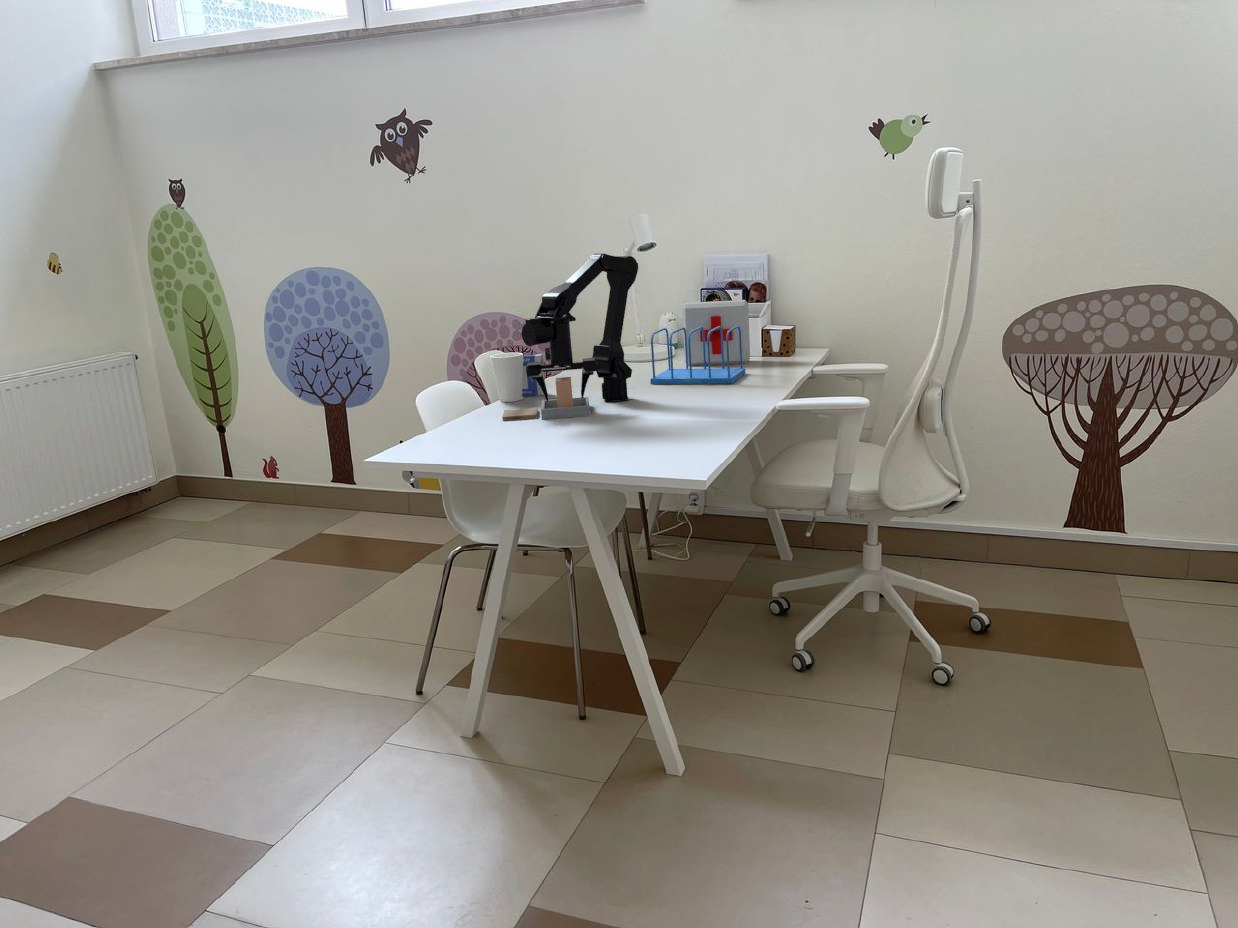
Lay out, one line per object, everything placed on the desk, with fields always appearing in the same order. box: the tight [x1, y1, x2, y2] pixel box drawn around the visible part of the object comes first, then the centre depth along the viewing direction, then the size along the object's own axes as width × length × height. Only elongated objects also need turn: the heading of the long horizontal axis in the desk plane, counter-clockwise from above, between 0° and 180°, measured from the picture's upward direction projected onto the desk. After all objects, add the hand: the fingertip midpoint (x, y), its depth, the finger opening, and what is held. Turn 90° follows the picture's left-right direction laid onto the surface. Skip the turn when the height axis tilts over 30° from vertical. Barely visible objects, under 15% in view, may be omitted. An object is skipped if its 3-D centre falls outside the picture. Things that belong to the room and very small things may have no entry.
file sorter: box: [649, 326, 746, 385], centre depth 282 cm, size 25×17×15 cm
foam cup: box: [489, 351, 524, 403], centre depth 270 cm, size 10×9×13 cm
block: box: [555, 376, 574, 408], centre depth 248 cm, size 4×5×9 cm
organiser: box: [540, 396, 591, 420], centre depth 249 cm, size 13×13×2 cm
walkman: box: [522, 353, 546, 397], centre depth 276 cm, size 8×3×12 cm, turn 86°
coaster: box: [502, 407, 539, 422], centre depth 249 cm, size 9×9×1 cm
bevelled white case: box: [681, 299, 751, 367], centre depth 306 cm, size 21×8×20 cm, turn 80°
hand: (564, 399), depth 249 cm, fingers open, 9 cm apart
